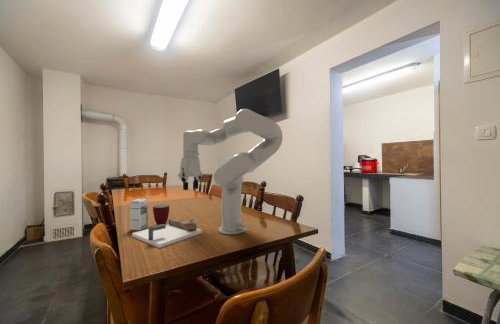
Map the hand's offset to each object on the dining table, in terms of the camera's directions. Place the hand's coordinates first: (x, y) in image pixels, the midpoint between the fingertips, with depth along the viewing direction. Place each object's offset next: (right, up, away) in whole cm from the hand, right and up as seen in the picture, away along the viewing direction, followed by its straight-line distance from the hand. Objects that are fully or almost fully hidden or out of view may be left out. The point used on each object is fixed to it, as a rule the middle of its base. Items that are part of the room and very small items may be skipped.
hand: (190, 188), depth 116 cm
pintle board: (-7, -20, -13) cm, 25 cm away
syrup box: (-25, -20, -4) cm, 32 cm away
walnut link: (-2, -18, -7) cm, 19 cm away
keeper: (-9, -18, -22) cm, 30 cm away
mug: (-17, -20, +4) cm, 26 cm away
